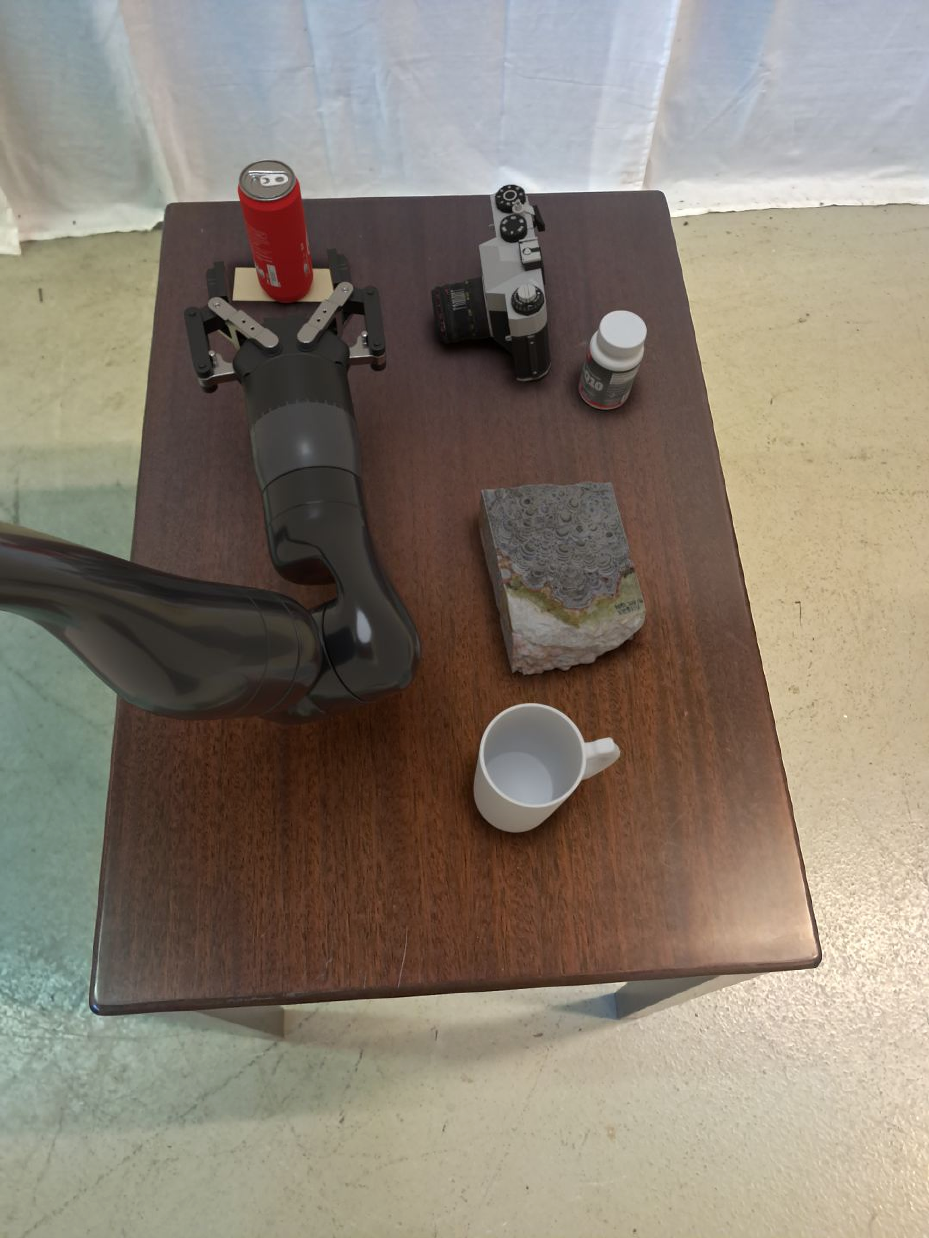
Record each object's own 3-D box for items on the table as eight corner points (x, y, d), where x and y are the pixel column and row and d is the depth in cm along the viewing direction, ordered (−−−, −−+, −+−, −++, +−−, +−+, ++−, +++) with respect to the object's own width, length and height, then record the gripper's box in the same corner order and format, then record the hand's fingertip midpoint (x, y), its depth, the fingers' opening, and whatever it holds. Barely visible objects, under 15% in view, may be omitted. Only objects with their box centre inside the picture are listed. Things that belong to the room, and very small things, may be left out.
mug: (478, 843, 64) (490, 816, 53) (462, 755, 67) (470, 711, 56) (609, 820, 65) (647, 788, 54) (588, 734, 68) (621, 687, 57)
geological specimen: (607, 466, 71) (658, 629, 65) (592, 506, 77) (638, 660, 71) (479, 482, 70) (520, 650, 64) (474, 522, 75) (511, 680, 69)
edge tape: (232, 301, 82) (232, 300, 82) (235, 268, 84) (235, 267, 84) (338, 302, 83) (338, 301, 83) (339, 270, 84) (339, 269, 84)
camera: (435, 275, 86) (415, 193, 77) (542, 254, 85) (536, 169, 76) (448, 396, 81) (429, 324, 72) (564, 376, 80) (559, 300, 71)
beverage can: (257, 267, 84) (233, 160, 73) (311, 262, 85) (294, 154, 73) (263, 309, 82) (238, 205, 71) (317, 303, 83) (301, 199, 72)
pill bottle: (569, 377, 81) (585, 314, 73) (615, 364, 82) (635, 300, 74) (590, 417, 79) (608, 357, 72) (637, 403, 80) (660, 342, 72)
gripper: (404, 392, 58) (365, 212, 64) (188, 421, 57) (169, 234, 62) (405, 453, 65) (370, 286, 71) (213, 481, 63) (193, 308, 69)
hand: (276, 262), depth 67 cm, fingers open, 8 cm apart
